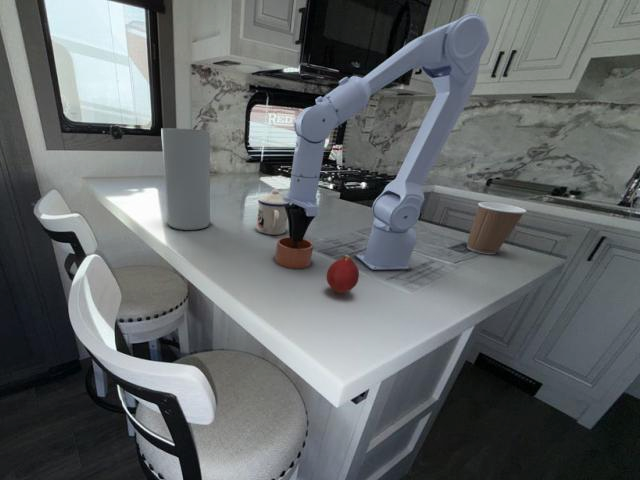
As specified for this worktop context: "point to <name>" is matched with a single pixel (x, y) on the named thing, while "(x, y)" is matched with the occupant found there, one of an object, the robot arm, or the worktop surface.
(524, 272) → the worktop surface
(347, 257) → the onion
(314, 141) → the robot arm
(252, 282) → the worktop surface
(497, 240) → the coffee cup
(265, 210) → the teacup with lid
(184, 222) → the cylinder vase
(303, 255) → the terracotta bowl
